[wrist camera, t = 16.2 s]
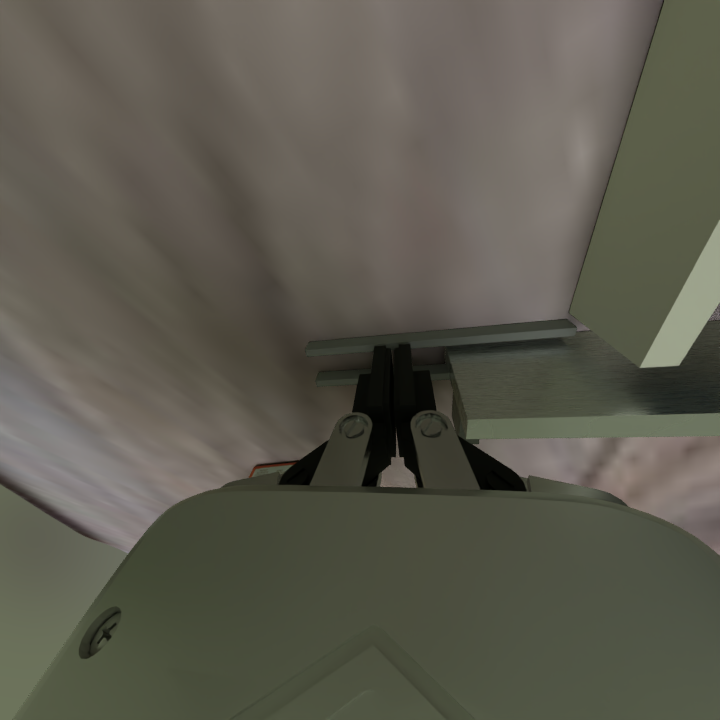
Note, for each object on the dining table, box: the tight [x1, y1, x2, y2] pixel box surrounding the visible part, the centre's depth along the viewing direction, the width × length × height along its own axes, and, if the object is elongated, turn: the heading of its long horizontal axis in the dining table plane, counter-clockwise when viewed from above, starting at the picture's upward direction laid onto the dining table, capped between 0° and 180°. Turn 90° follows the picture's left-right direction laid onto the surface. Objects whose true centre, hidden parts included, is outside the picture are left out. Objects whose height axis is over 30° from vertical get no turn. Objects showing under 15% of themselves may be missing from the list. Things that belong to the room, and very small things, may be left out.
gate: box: [445, 320, 720, 444], centre depth 10 cm, size 12×3×5 cm, turn 99°
